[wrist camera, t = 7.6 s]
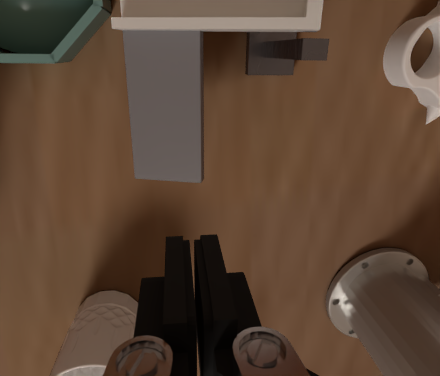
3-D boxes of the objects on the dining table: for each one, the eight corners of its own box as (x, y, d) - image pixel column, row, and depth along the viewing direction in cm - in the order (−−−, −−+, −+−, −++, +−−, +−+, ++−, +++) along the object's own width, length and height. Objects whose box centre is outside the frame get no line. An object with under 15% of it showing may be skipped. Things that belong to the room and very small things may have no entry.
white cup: (76, 280, 35) (44, 361, 26) (153, 289, 37) (148, 367, 28) (68, 339, 38) (37, 432, 29) (140, 345, 40) (133, 433, 30)
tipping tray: (332, -135, 18) (340, -163, 16) (299, 184, 25) (301, 198, 22) (117, -122, 20) (95, -145, 17) (140, 174, 26) (126, 185, 24)
